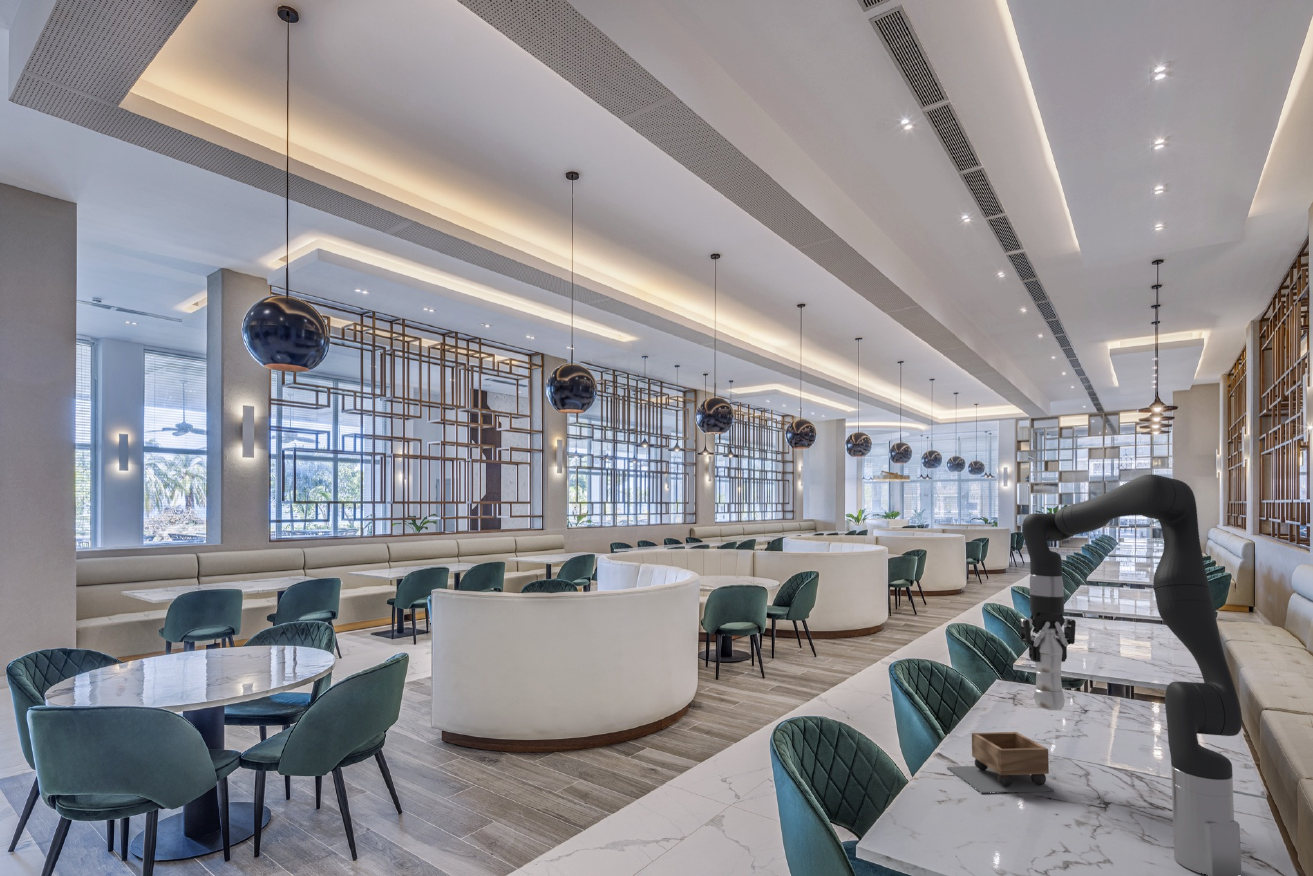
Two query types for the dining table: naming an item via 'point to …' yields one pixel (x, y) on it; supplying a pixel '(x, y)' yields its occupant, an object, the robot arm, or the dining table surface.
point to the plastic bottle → (1049, 673)
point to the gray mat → (996, 781)
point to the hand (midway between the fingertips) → (1048, 661)
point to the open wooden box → (1010, 756)
